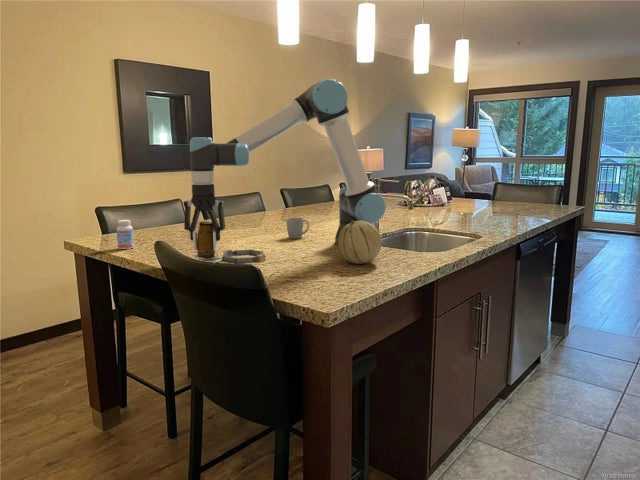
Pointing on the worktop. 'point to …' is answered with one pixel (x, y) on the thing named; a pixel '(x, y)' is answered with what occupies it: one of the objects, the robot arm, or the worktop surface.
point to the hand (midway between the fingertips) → (205, 249)
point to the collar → (228, 253)
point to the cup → (296, 227)
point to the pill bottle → (125, 235)
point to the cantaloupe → (359, 242)
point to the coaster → (210, 259)
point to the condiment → (206, 241)
